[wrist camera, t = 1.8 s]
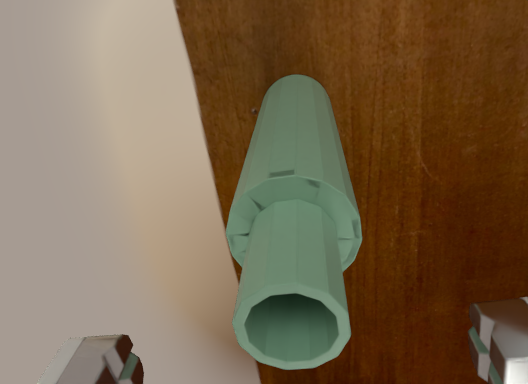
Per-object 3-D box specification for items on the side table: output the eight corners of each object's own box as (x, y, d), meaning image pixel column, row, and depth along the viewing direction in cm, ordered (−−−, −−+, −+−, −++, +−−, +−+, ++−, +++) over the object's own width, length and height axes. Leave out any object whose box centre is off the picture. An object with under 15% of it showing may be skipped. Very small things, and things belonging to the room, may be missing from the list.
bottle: (256, 81, 26) (178, 267, 9) (325, 68, 25) (377, 244, 8) (269, 144, 28) (224, 394, 11) (333, 134, 27) (389, 384, 10)
